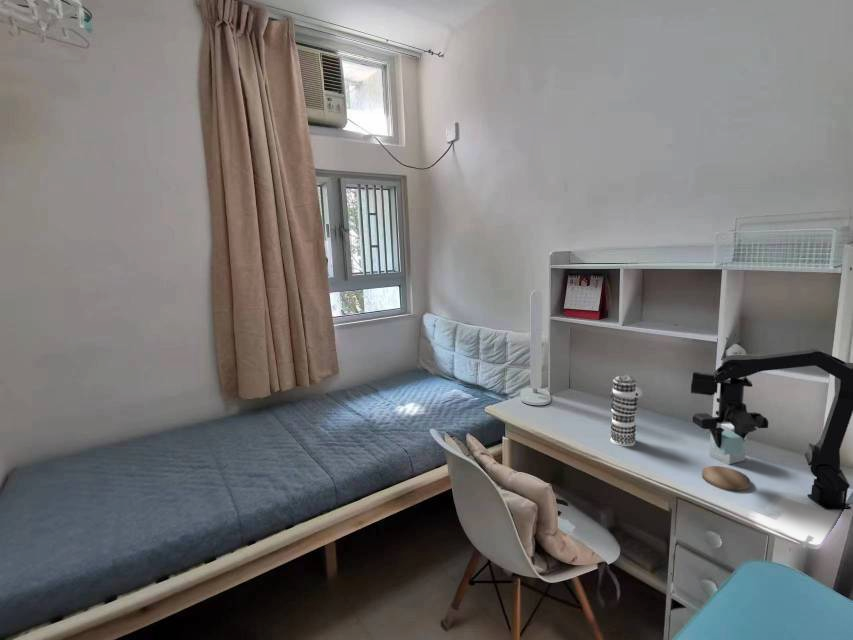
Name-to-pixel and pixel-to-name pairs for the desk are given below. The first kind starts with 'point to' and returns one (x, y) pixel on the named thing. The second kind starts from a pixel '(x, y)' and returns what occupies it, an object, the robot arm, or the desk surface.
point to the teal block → (730, 443)
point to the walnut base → (726, 478)
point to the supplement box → (727, 457)
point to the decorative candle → (623, 411)
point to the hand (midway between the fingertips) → (727, 447)
